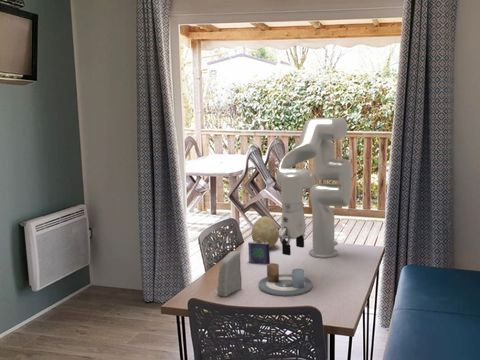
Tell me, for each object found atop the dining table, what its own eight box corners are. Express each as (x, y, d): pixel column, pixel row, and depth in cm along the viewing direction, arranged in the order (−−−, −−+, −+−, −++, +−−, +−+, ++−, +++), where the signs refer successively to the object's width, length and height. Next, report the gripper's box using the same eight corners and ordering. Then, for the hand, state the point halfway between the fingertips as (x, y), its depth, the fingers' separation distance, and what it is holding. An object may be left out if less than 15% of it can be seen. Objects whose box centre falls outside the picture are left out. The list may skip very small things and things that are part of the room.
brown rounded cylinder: (281, 279, 200) (280, 264, 199) (274, 283, 196) (274, 267, 195) (271, 277, 202) (271, 262, 202) (265, 281, 199) (264, 265, 198)
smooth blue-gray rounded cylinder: (306, 285, 193) (306, 269, 192) (300, 289, 190) (300, 273, 189) (296, 283, 196) (296, 267, 195) (289, 286, 192) (289, 271, 191)
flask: (248, 263, 224) (247, 238, 222) (250, 260, 227) (249, 236, 225) (268, 264, 221) (268, 240, 219) (270, 262, 224) (270, 238, 222)
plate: (277, 273, 210) (277, 270, 210) (322, 283, 198) (322, 280, 198) (247, 289, 194) (247, 286, 194) (294, 300, 182) (294, 297, 182)
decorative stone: (228, 298, 186) (226, 257, 184) (214, 295, 189) (212, 255, 187) (244, 288, 195) (242, 249, 193) (230, 285, 198) (229, 247, 196)
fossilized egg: (282, 245, 248) (282, 214, 246) (274, 253, 237) (274, 220, 234) (257, 243, 253) (256, 212, 250) (248, 250, 241) (247, 219, 239)
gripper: (288, 213, 184) (289, 259, 187) (312, 202, 197) (313, 245, 201) (270, 210, 188) (272, 256, 192) (295, 200, 202) (296, 242, 205)
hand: (293, 250), depth 196 cm, fingers open, 9 cm apart
